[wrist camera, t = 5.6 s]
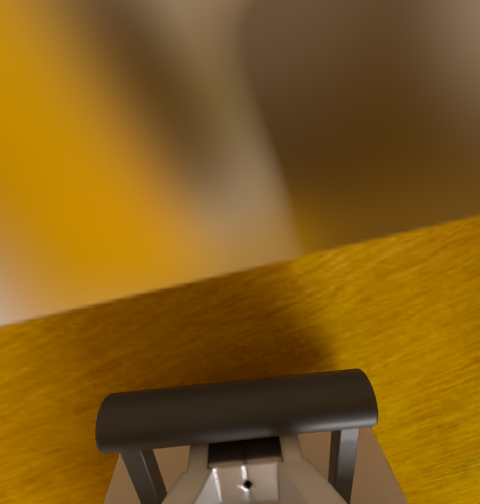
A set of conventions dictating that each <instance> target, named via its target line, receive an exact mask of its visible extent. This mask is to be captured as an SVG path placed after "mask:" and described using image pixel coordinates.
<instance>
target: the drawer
mask: <svg viewBox="0 0 480 504" xmlns="http://www.w3.org/2000/svg"><path fill="white" fill-rule="evenodd" d="M377 421H378V407H377V402H376V397H375V394H374V391H373V388H372V386H371V383H370V381H369V379H368V377H367V376H366V374H365V373H364V372H363V371H362V370H360V369H348V370H338V371H328V372H318V373H308V374H298V375H288V376H278V377H268V378H258V379H248V380H238V381H228V382H218V383H208V384H198V385H188V386H178V387H168V388H158V389H148V390H138V391H128V392H118V393H111V394H109V395H108V396H107V397H106V398H105V399H104V401H103V402H102V404H101V407H100V409H99V412H98V416H97V421H96V430H95V437H96V444H97V448H98V450H99V451H100V452H101V453H103V454H111V453H120V455H119V458H118V461H117V464H116V467H115V470H114V473H113V476H112V479H111V482H110V485H109V488H108V491H107V494H106V497H105V500H104V503H103V504H161V503H162V502H163V500H164V499H165V497H166V495H167V494H168V492H169V491H170V489H171V488H172V486H173V485H174V483H175V482H176V480H177V479H178V477H179V476H180V474H181V473H182V472H185V471H187V467H188V458H189V450H190V445H199V444H209V443H219V442H229V441H239V440H249V439H258V438H268V437H278V436H288V435H298V438H299V442H300V447H301V451H302V455H303V459H309V460H310V461H311V462H312V463H313V465H314V466H315V467H316V468H317V469H318V470H319V472H320V473H321V474H322V475H323V476H324V477H325V478H326V480H327V481H328V482H329V483H330V484H331V485H332V487H333V488H334V489H335V490H336V491H337V492H338V493H339V495H340V496H341V497H342V498H343V499H344V500H345V501H346V503H347V504H408V502H407V500H406V498H405V496H404V494H403V492H402V490H401V488H400V486H399V484H398V482H397V480H396V478H395V476H394V474H393V472H392V469H391V467H390V465H389V463H388V461H387V459H386V457H385V455H384V453H383V451H382V449H381V447H380V445H379V443H378V441H377V439H376V437H375V435H374V433H373V431H372V428H371V427H373V426H375V425H376V424H377ZM247 504H280V501H274V502H259V503H247Z"/></svg>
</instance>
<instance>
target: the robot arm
mask: <svg viewBox="0 0 480 504" xmlns="http://www.w3.org/2000/svg"><path fill="white" fill-rule="evenodd" d="M274 501H280V504H347V503H346V501H345V500H344V499H343V498H342V497H341V496H340V495H339V493H338V492H337V491H336V490H335V489H334V488H333V487H332V485H331V484H330V483H329V482H328V481H327V480H326V478H325V477H324V476H323V475H322V474H321V473H320V472H319V470H318V469H317V468H316V467H315V466H314V465H313V463H312V462H311V461H310V460H309V459H303V455H302V451H301V447H300V442H299V438H298V435H288V436H278V437H268V438H258V439H249V440H239V441H229V442H219V443H209V444H199V445H190V450H189V458H188V467H187V471H185V472H182V473H181V474H180V476H179V477H178V479H177V480H176V482H175V483H174V485H173V486H172V488H171V489H170V491H169V492H168V494H167V495H166V497H165V499H164V500H163V502H162V503H161V504H247V503H259V502H274Z"/></svg>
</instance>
